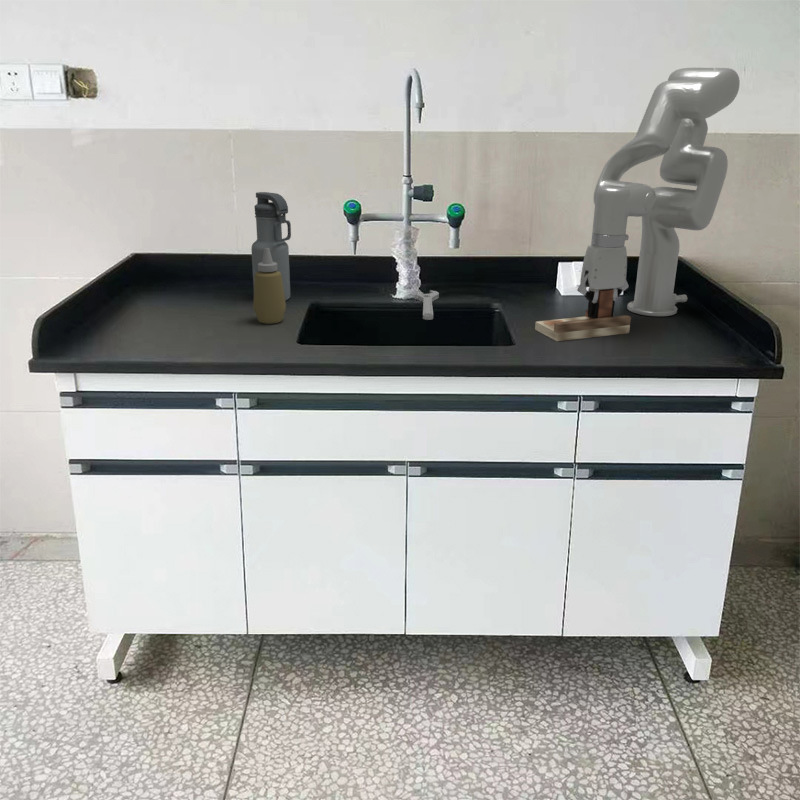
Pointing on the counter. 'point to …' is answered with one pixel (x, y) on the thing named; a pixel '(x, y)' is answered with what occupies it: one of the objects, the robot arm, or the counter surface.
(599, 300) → the brown wooden block
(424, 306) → the adjustable wrench
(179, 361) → the counter surface
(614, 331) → the board
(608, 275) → the robot arm
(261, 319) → the squeeze bottle
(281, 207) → the water bottle
